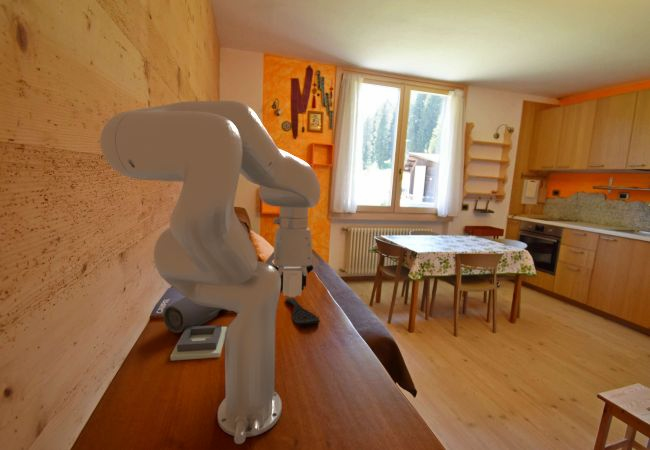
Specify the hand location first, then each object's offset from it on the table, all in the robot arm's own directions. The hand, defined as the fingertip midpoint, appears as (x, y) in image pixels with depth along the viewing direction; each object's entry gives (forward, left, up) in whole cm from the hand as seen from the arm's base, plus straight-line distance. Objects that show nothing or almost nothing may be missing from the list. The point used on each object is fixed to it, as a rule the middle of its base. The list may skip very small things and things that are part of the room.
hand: (291, 287), depth 83 cm
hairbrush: (+20, -4, -18) cm, 27 cm away
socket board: (+4, +25, -17) cm, 30 cm away
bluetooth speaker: (+17, +26, -17) cm, 36 cm away
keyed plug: (0, 0, -1) cm, 1 cm away
